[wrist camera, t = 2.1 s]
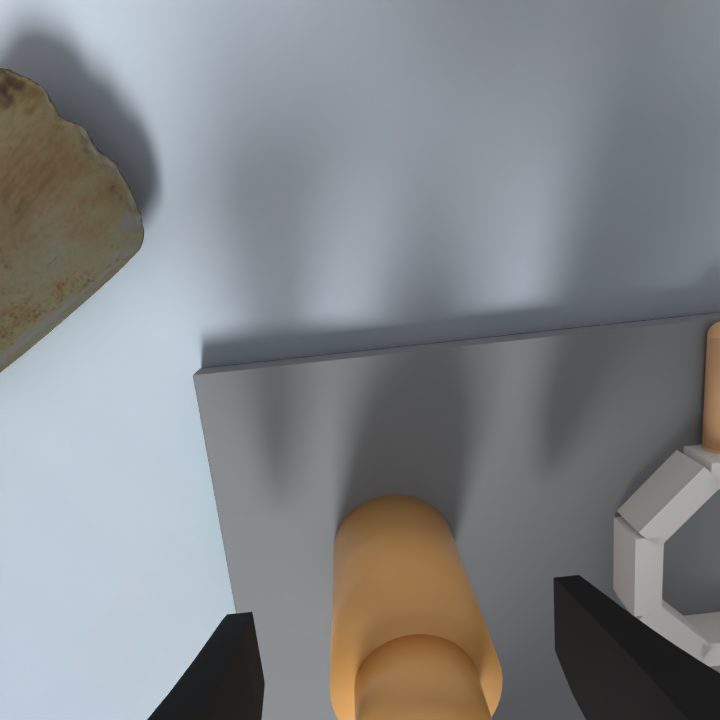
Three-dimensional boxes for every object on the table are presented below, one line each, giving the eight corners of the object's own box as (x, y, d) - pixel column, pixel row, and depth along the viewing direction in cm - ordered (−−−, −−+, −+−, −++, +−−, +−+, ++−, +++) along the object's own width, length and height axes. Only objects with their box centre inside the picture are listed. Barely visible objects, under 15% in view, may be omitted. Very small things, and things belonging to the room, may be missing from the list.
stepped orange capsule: (456, 594, 16) (530, 822, 10) (340, 607, 16) (340, 845, 10) (448, 488, 15) (524, 661, 9) (326, 501, 15) (316, 686, 9)
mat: (833, 690, 18) (891, 743, 16) (269, 754, 18) (260, 816, 16) (881, 294, 15) (960, 302, 13) (200, 368, 15) (179, 387, 13)
